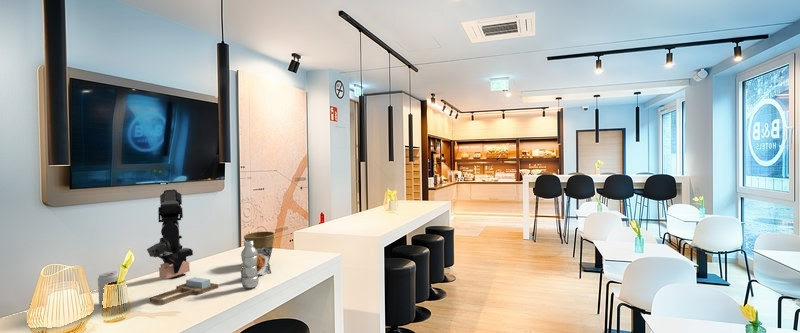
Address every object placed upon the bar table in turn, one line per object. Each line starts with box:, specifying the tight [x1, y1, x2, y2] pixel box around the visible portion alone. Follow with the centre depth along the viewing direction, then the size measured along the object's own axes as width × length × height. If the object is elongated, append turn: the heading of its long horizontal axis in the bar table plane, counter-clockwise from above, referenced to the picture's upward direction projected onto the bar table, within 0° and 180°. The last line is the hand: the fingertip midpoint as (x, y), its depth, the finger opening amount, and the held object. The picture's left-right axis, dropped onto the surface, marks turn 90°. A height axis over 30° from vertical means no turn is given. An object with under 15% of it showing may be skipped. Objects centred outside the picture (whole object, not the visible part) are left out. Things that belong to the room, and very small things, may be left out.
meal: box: [240, 247, 273, 282], centre depth 173 cm, size 15×4×13 cm, turn 152°
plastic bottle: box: [240, 240, 260, 289], centre depth 160 cm, size 6×7×20 cm
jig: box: [149, 282, 219, 305], centre depth 156 cm, size 15×22×2 cm
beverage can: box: [97, 271, 119, 306], centre depth 147 cm, size 6×6×12 cm
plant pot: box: [243, 231, 275, 264], centre depth 195 cm, size 15×15×16 cm
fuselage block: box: [158, 260, 191, 280], centre depth 153 cm, size 4×10×6 cm, turn 155°
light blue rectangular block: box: [185, 276, 211, 289], centre depth 161 cm, size 10×4×4 cm, turn 65°
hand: (172, 272), depth 152 cm, fingers closed on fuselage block, 4 cm apart
